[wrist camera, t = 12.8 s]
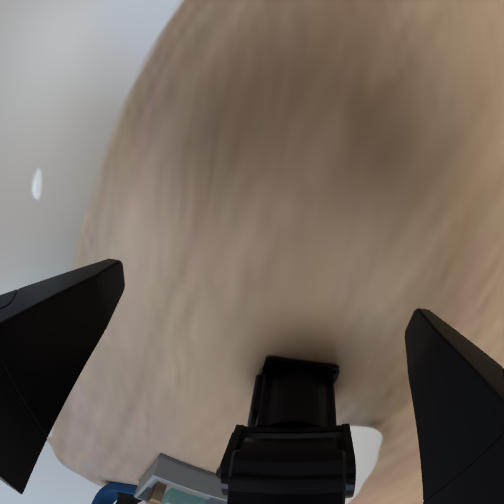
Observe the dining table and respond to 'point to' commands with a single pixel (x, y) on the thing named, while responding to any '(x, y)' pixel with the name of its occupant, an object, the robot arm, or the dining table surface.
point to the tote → (181, 479)
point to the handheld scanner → (116, 494)
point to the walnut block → (156, 493)
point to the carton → (181, 496)
